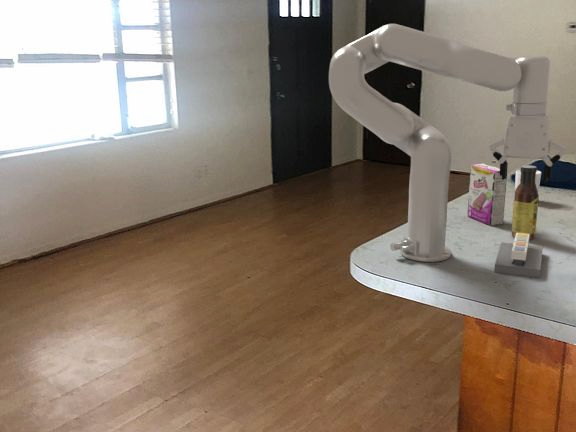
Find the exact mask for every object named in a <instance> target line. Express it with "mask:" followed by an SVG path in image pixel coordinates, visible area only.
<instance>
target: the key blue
mask: <svg viewBox="0 0 576 432" xmlns="http://www.w3.org/2000/svg"><path fill="white" fill-rule="evenodd" d="M526 254H527V248H523V247H513V248H512V254H511V259H514V263H513V264H514V265H523V260H526Z"/></svg>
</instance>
